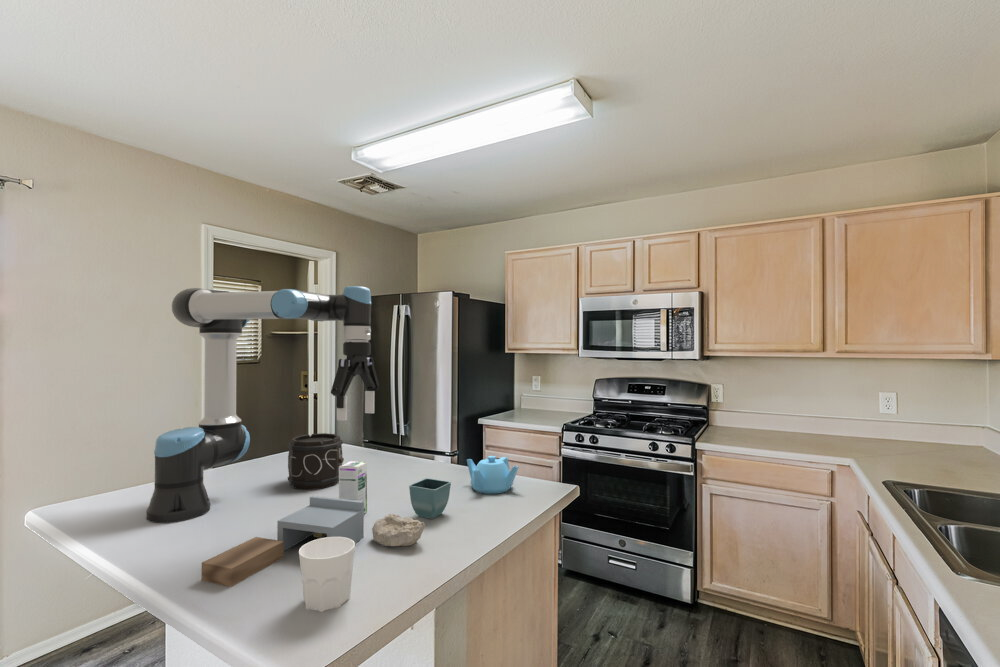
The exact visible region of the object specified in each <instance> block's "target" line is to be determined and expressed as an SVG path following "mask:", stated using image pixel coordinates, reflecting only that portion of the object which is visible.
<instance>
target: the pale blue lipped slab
mask: <svg viewBox="0 0 1000 667" xmlns="http://www.w3.org/2000/svg"><path fill="white" fill-rule="evenodd" d="M364 517H365V514H364V501H357V500H348V499H339V497H338V498H337V497H336V498H335V497H327V496H326V497H325V496H318V495H311V496H309V505H307V506H305V507H303V508H301V509H299V510H297V511H295V512H292V513H290V514H288V515H287V516H285V517H283V518H281V519H278V520H277V526H276V527H277V530H276V534H277V535H276V536H277V537H276V538H277V539H276V540H278V541H284V552H285V551H286V550H288V549H290V548H292V547H294V546H295V545H296V544H299V543H300V542H301V541H303V540H305V539H307V538H308V537H310V536H312V535H313V537H314V538H318V539H320V538H325V536H326V537H345V538H349V539H351V540H353V541H354V543H355V544H357V543H358V542H359V541H361V540H362V539H364V534H365V533H364V532H365V531H364V529H365V528H364V527H365V526H364V519H365V518H364Z"/></svg>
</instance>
